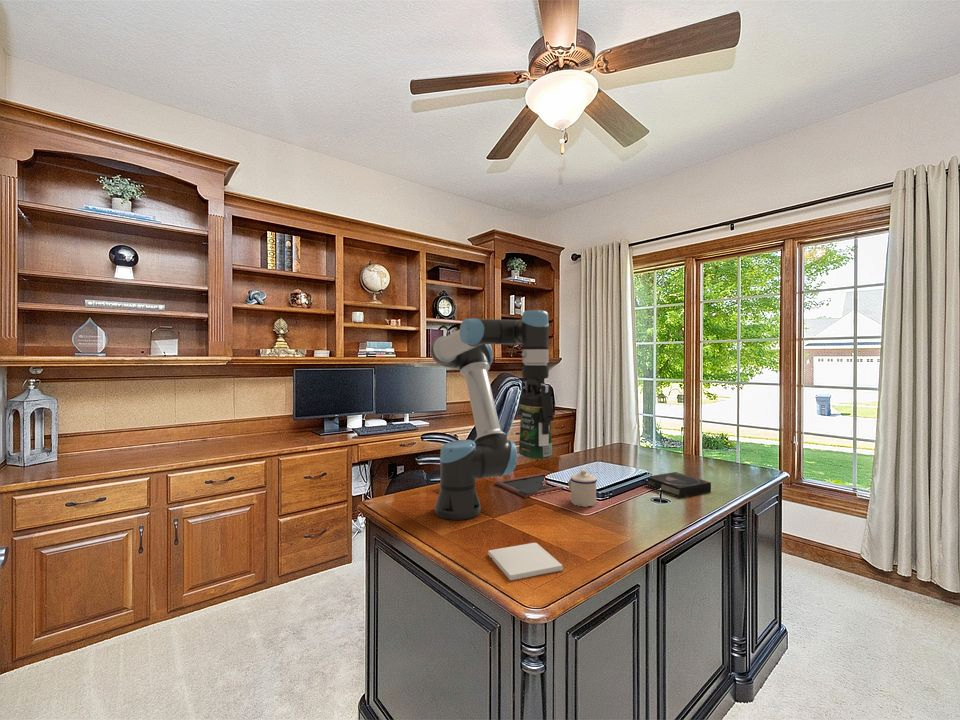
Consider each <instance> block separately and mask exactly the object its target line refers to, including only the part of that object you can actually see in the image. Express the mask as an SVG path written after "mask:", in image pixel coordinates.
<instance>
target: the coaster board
mask: <svg viewBox="0 0 960 720" xmlns="http://www.w3.org/2000/svg"><path fill="white" fill-rule="evenodd" d="M487 555H488V556H489V558H490V559H491V558H492V559H491V561H493V562H494V563H495V565H497V567H498V568H499V570H501V571H502V572H503V573H502V574H504V575H505V576H506V577H507V578H508V580H509V581H515V580H520V579H526V578H530V577H531V578H532V577H535V576H541V575H544V574H550V573H555V572H561V571H563V569H564V567H563V564H562V563H560V561H558V560H557V559H556V558H555V557H554V556H553V555H551V554H550V553H549V552H548V551H546V549H544V548H543V547H542V546H541V545H540V544H538V543H537V542H530V543H524V544H519V545H512V546H507V547H501V548H495V549H490V550H489V549H488V554H487Z"/></svg>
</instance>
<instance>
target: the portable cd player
mask: <svg viewBox="0 0 960 720" xmlns="http://www.w3.org/2000/svg"><path fill="white" fill-rule="evenodd" d="M649 476H650V477H648V481H647V482H646V485H648V486H650V487H649V488H651V487H653V488H652V489H654V488H656V489H660V488H661V487H662V491H663V492H662V491H661V492H662V493H665V494H668V495H671V496H673V497H676V498H678V499H679V498H686V497H691V496H696V495H700V494H706V492H707V493H711V492H712V481H711V482H710V481H706V480H704V479H701V478H696V477H694V476H690V475H687V474H683V473H681V472H677V471H673V472H668V473H667V472H666V473H661V474H654V475H649ZM646 485H645V486H646ZM648 486H647V487H648ZM656 489H655V490H656Z"/></svg>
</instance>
